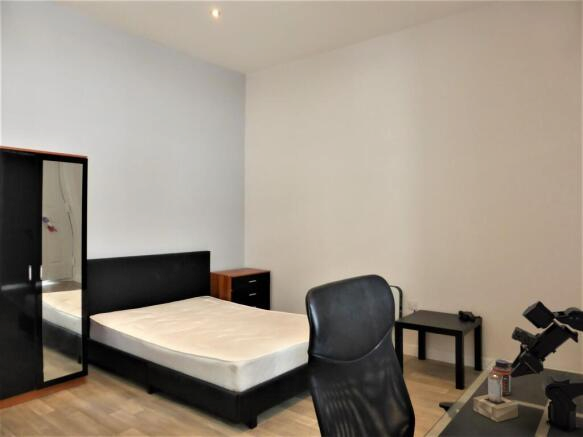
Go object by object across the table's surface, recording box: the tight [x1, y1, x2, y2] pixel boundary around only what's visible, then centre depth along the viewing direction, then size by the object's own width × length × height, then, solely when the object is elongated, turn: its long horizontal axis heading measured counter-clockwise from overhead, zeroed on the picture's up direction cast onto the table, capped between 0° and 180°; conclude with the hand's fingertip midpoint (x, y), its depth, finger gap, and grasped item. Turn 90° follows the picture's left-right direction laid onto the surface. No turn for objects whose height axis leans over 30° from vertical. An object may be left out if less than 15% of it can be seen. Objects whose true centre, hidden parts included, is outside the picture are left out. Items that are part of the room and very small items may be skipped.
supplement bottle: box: [492, 359, 512, 396], centre depth 150 cm, size 6×6×11 cm
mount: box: [472, 394, 519, 423], centre depth 133 cm, size 9×9×4 cm
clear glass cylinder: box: [486, 371, 503, 405], centre depth 133 cm, size 4×4×12 cm
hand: (511, 371), depth 132 cm, fingers open, 9 cm apart
